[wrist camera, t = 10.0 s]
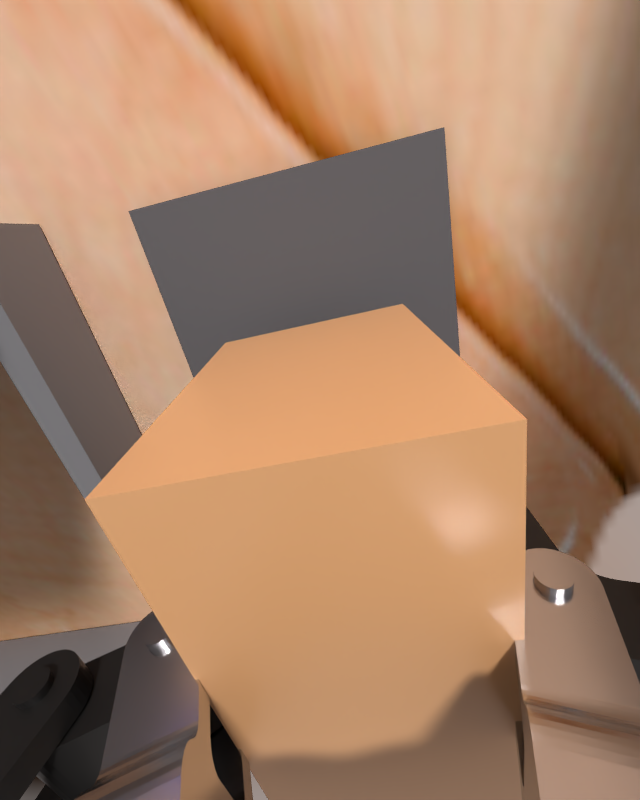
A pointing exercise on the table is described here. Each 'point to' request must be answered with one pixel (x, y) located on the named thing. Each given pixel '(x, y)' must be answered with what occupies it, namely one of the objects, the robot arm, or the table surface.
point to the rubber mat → (308, 247)
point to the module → (340, 557)
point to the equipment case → (59, 404)
